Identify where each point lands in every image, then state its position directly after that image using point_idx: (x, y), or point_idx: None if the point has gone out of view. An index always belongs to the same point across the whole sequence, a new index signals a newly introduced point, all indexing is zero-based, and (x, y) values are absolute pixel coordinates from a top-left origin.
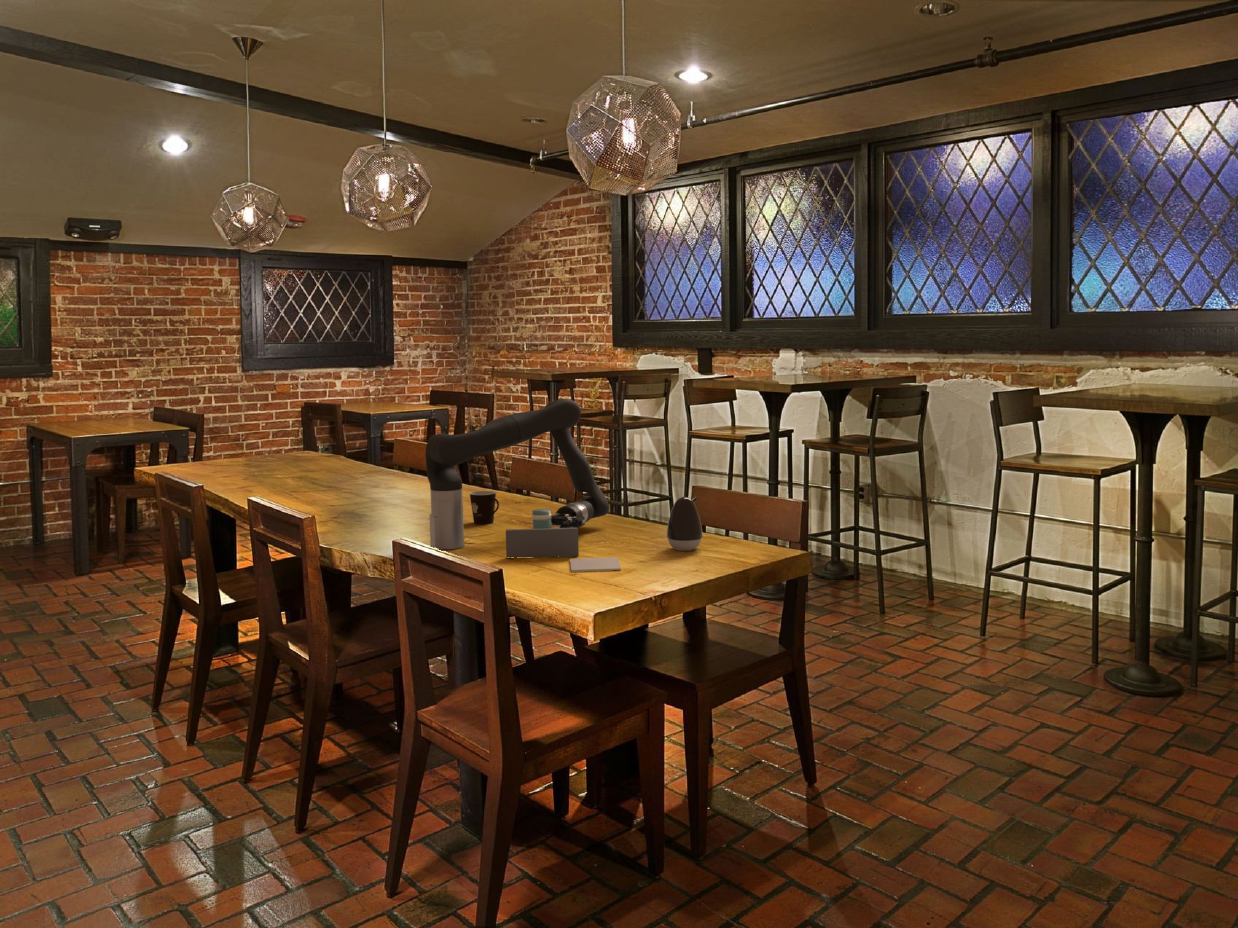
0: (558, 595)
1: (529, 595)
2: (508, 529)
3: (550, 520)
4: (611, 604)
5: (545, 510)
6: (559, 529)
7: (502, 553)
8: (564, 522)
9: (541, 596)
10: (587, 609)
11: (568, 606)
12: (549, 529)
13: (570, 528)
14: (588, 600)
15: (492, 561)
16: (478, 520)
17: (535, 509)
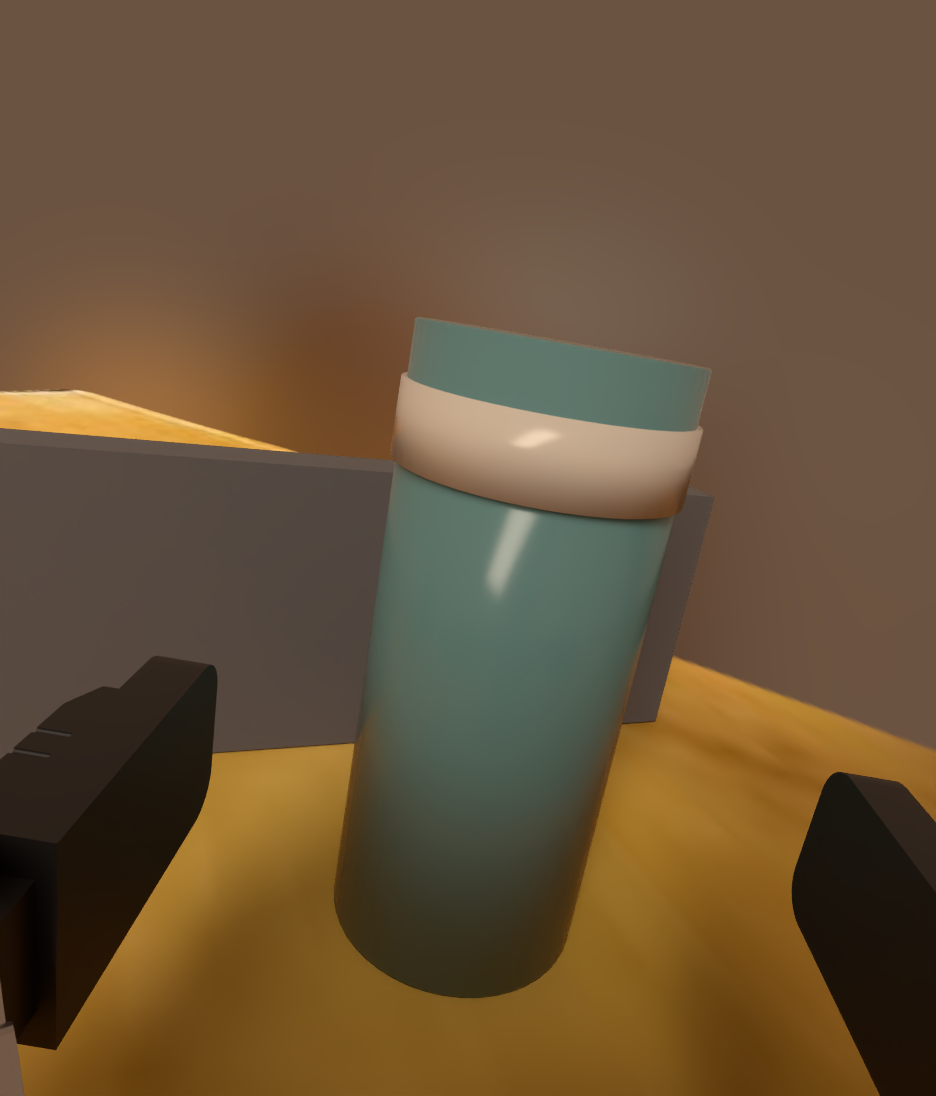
0: (173, 436)
1: (269, 446)
2: (694, 495)
3: (393, 477)
4: (5, 397)
5: (497, 331)
6: (215, 450)
7: (810, 823)
8: (159, 659)
9: (229, 439)
10: (87, 398)
11: (141, 410)
12: (323, 456)
13: (79, 438)
14: (74, 413)
15: (671, 664)
16: None
17: (704, 368)
